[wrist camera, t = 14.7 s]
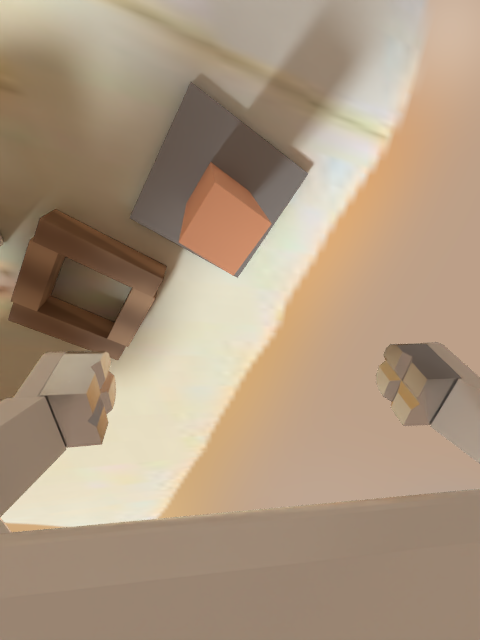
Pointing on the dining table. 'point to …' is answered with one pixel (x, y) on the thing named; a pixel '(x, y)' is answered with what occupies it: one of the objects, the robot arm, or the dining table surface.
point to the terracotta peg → (222, 220)
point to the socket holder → (98, 254)
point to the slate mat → (224, 152)
